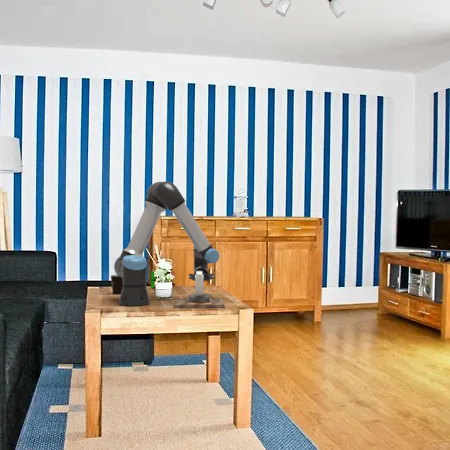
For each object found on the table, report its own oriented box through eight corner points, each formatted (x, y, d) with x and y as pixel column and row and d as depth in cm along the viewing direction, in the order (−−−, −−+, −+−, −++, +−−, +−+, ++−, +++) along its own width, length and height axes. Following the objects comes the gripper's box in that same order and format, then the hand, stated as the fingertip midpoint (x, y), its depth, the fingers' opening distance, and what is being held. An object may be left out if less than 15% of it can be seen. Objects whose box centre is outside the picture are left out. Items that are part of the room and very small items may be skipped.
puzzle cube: (173, 288, 366) (173, 271, 365) (157, 290, 361) (157, 272, 360) (166, 286, 374) (166, 270, 374) (150, 287, 369) (150, 270, 369)
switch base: (173, 308, 299) (173, 298, 299) (175, 302, 317) (175, 293, 317) (224, 308, 300) (224, 298, 300) (223, 302, 318) (223, 293, 318)
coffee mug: (123, 294, 340) (123, 276, 340) (108, 294, 342) (108, 276, 342) (130, 292, 352) (130, 274, 351) (116, 291, 353) (116, 273, 353)
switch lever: (195, 296, 307) (195, 274, 300) (195, 292, 309) (195, 271, 302) (203, 296, 307) (203, 274, 300) (203, 292, 309) (203, 271, 303)
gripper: (213, 281, 330) (215, 287, 306) (188, 281, 329) (188, 288, 306) (213, 267, 330) (215, 272, 306) (188, 267, 329) (188, 272, 305)
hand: (201, 280), depth 306 cm, fingers closed
